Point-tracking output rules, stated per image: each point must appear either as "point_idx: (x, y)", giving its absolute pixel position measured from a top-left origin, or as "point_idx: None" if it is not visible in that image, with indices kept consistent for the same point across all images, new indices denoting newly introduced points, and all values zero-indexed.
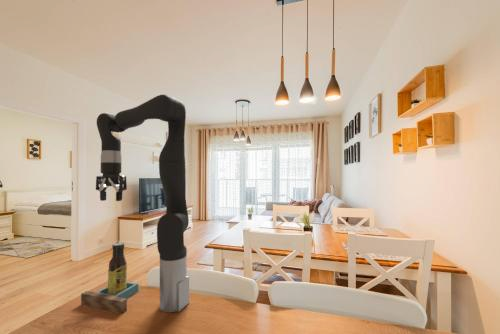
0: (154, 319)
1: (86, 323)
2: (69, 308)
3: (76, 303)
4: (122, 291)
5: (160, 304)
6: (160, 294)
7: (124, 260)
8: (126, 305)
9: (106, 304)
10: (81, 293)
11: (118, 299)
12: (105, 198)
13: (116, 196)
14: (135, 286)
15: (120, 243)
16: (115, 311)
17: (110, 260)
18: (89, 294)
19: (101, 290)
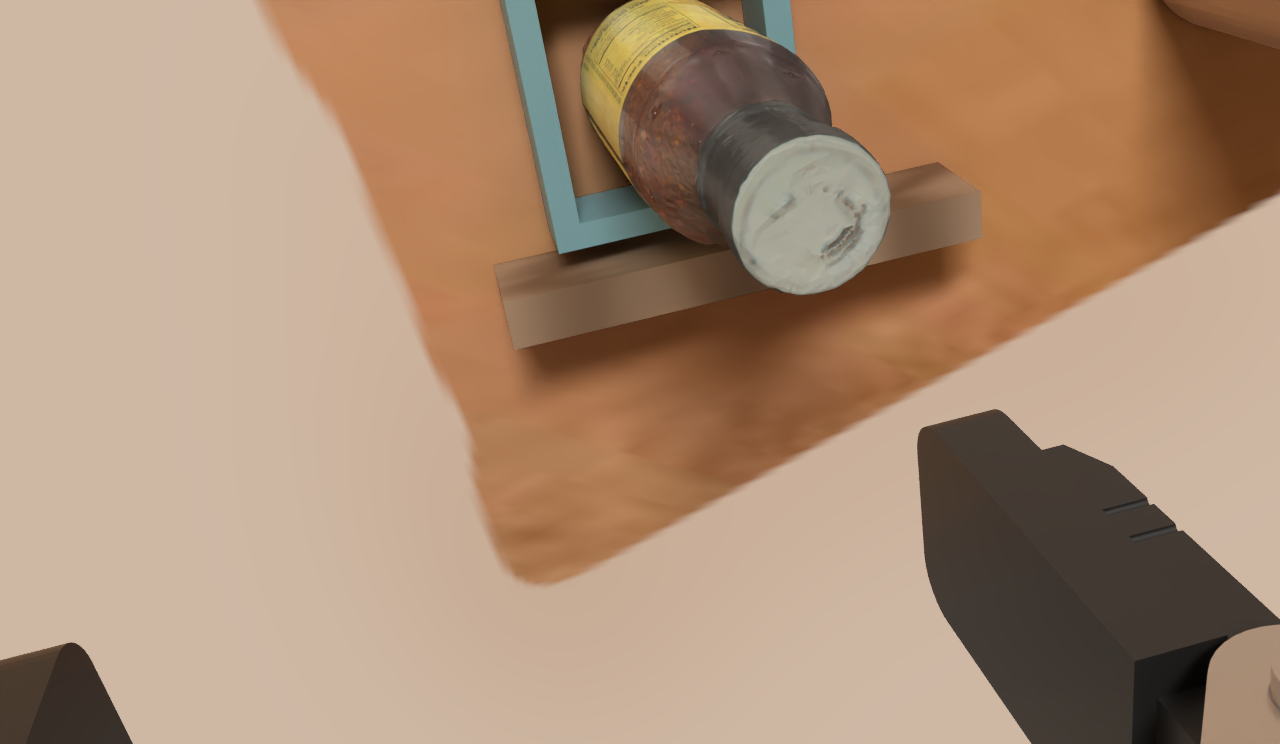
0: (1213, 125)
1: (809, 390)
2: (482, 380)
3: (444, 320)
4: None
5: (1213, 28)
6: (1272, 46)
7: (824, 110)
8: (955, 176)
9: None
10: (517, 348)
11: (926, 234)
12: (64, 710)
13: (1037, 709)
14: None
15: (816, 184)
16: None
17: (683, 224)
18: (605, 319)
19: (568, 191)
